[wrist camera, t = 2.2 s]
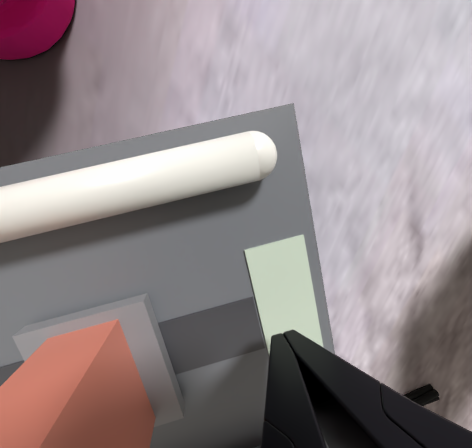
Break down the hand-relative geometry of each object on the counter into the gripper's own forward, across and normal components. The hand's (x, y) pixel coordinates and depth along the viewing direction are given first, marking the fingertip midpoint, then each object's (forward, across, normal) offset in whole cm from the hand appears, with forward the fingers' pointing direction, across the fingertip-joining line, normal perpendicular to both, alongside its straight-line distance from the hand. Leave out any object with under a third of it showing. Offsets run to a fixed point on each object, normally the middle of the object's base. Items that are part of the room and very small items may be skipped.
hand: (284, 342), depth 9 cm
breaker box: (+6, +7, 0) cm, 9 cm away
